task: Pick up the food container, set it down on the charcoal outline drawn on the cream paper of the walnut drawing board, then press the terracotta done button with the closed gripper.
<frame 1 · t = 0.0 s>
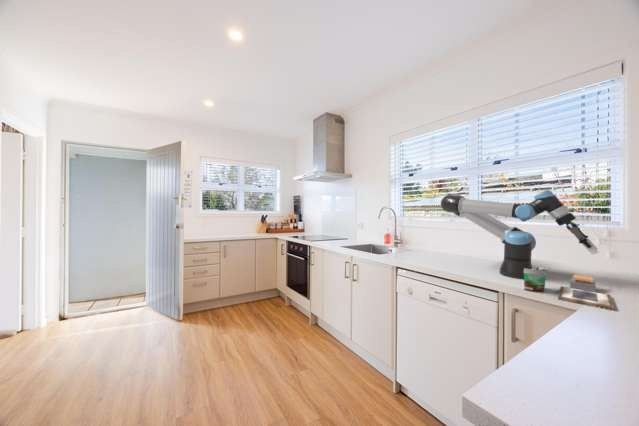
hand: (595, 251, 128), 15 cm above the countertop, tool tilted 35°, fingers open, 13 cm apart
done button: (582, 281, 119), point 3 cm above the countertop, slide at 0.0 cm
drawing board: (584, 298, 106), on the countertop
food container: (537, 291, 115), on the countertop
button housing: (582, 288, 119), on the countertop
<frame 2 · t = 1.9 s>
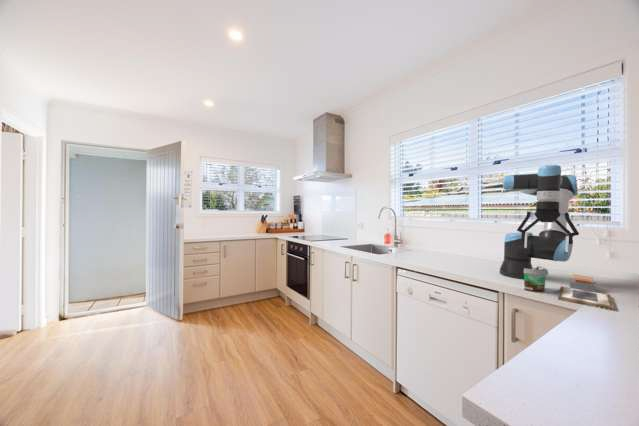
hand: (545, 249, 113), 19 cm above the countertop, tool pointing down, fingers open, 13 cm apart
nothing on the countertop moved.
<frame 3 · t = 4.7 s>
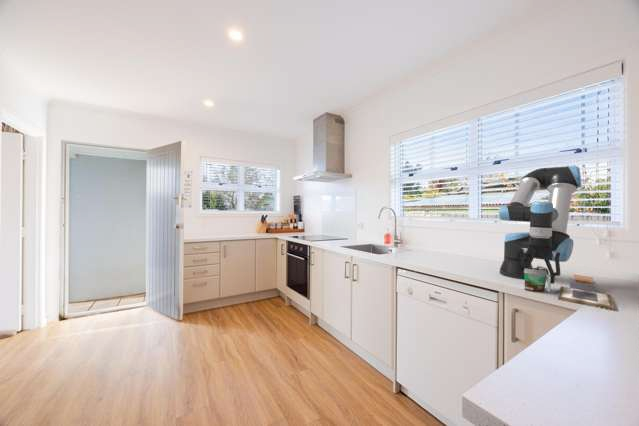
hand: (537, 288, 115), 1 cm above the countertop, tool pointing down, fingers closed on food container, 7 cm apart
food container: (538, 291, 115), on the countertop, touching gripper
everything else where it was.
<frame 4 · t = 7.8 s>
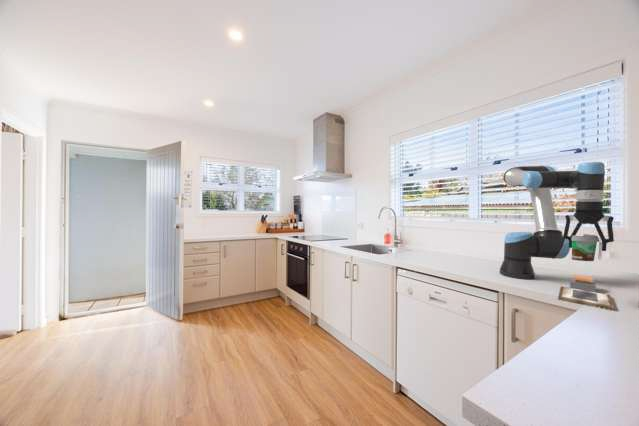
hand: (586, 257, 105), 17 cm above the countertop, tool pointing down, fingers closed on food container, 7 cm apart
food container: (586, 260, 105), point 16 cm above the countertop, touching gripper
everything else where it was.
when the fingers open (3 cm above the countertop, at t = 11.0 s): food container drops 1 cm, resting on drawing board.
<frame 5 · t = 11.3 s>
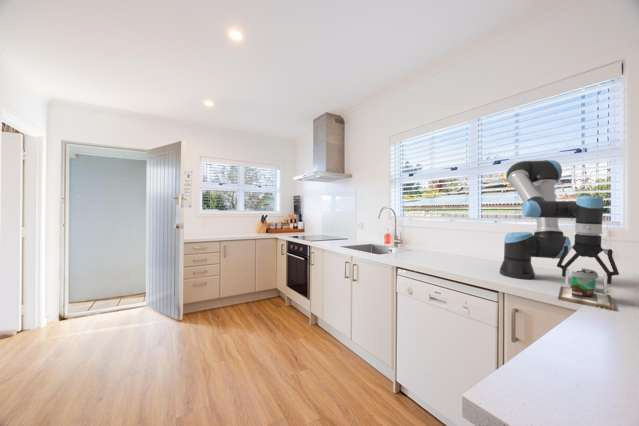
hand: (584, 288, 106), 4 cm above the countertop, tool pointing down, fingers open, 10 cm apart
food container: (586, 295, 106), point 1 cm above the countertop, touching drawing board
everything else where it was.
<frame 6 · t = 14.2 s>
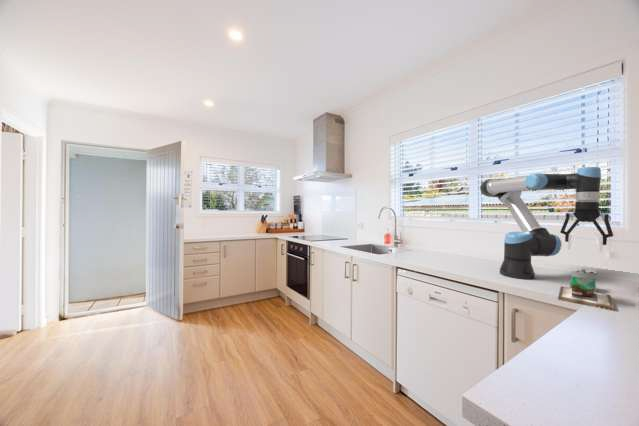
hand: (584, 250, 118), 18 cm above the countertop, tool pointing down, fingers open, 9 cm apart
nothing on the countertop moved.
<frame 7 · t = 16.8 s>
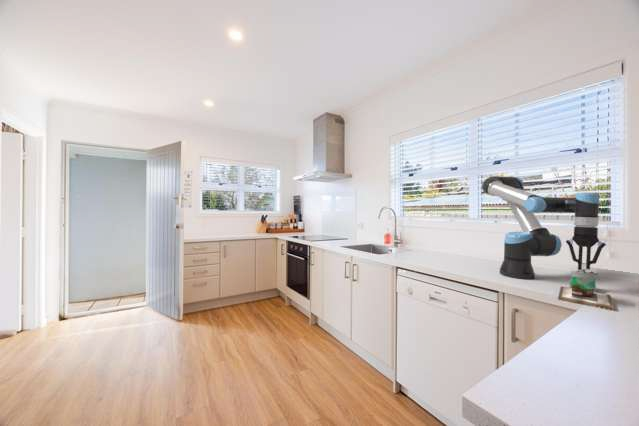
hand: (583, 277, 119), 5 cm above the countertop, tool pointing down, fingers closed
done button: (582, 281, 119), point 3 cm above the countertop, slide at 0.4 cm, touching gripper
everything else where it was.
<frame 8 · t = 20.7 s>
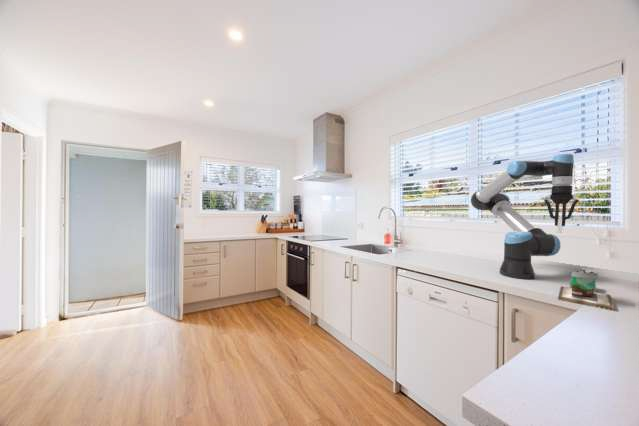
hand: (559, 232, 130), 24 cm above the countertop, tool pointing down, fingers closed
done button: (582, 283, 119), point 2 cm above the countertop, slide at 1.1 cm
everything else where it was.
at the end: food container inside the target area on the drawing board (0.4 cm from its centre), point 1.1 cm above the drawing board's base; food container tilted 0°; done button slide at 1.1 cm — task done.
